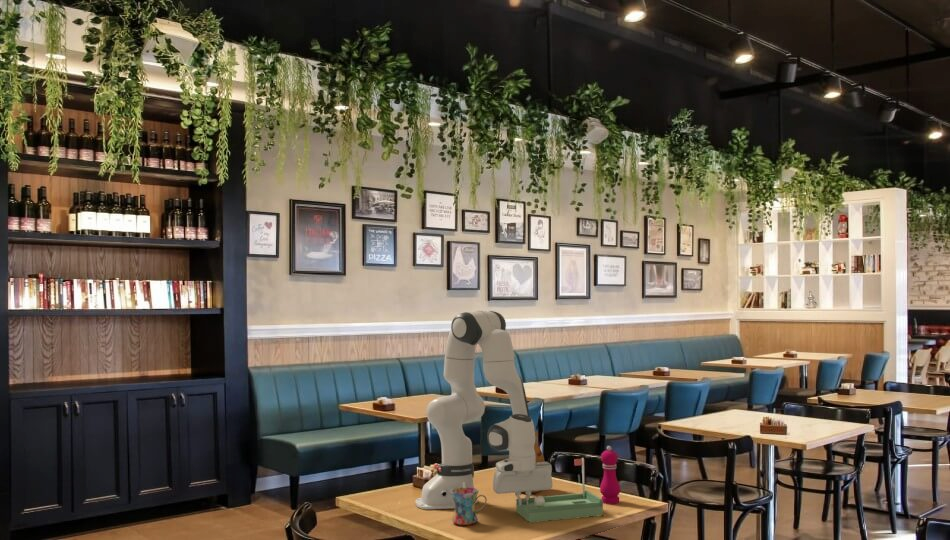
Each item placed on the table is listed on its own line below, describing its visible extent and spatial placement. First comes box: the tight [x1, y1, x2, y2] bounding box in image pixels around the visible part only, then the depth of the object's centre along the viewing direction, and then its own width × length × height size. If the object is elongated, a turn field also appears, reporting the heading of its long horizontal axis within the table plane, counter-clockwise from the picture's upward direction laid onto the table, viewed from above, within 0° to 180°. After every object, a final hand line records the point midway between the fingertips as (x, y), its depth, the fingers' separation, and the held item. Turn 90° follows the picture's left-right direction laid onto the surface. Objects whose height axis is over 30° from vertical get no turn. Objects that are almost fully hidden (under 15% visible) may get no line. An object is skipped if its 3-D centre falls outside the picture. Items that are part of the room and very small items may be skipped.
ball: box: [534, 495, 545, 507], centre depth 276 cm, size 4×4×4 cm
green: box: [516, 457, 604, 523], centre depth 278 cm, size 26×14×17 cm, turn 105°
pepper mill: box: [599, 445, 621, 505], centre depth 293 cm, size 7×7×20 cm
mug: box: [450, 487, 487, 526], centre depth 269 cm, size 12×9×11 cm
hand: (523, 504), depth 275 cm, fingers closed
